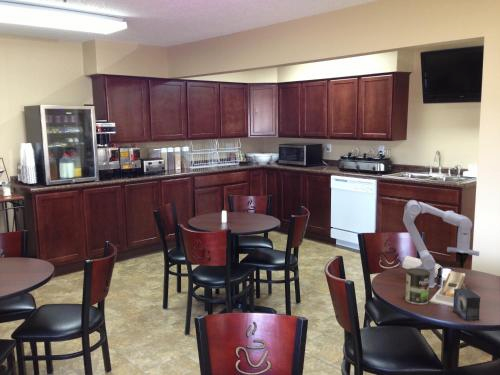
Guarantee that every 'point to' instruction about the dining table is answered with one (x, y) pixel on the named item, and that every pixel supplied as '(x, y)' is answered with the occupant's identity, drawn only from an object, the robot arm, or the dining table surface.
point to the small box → (466, 304)
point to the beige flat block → (444, 297)
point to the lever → (453, 282)
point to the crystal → (416, 264)
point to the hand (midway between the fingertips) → (461, 267)
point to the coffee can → (417, 286)
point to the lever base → (433, 300)
